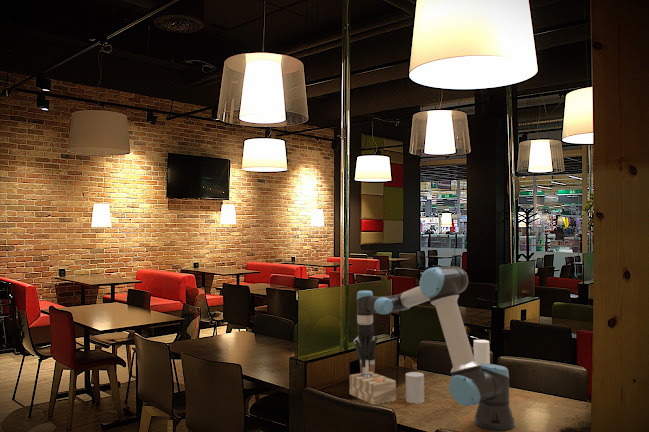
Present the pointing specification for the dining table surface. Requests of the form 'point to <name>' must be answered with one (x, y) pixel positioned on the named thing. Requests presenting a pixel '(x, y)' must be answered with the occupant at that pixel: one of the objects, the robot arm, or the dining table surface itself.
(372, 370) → the coffee cup
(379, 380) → the peg terracotta
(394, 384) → the birch block
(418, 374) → the cup
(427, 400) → the dining table surface
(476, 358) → the cylindrical container
